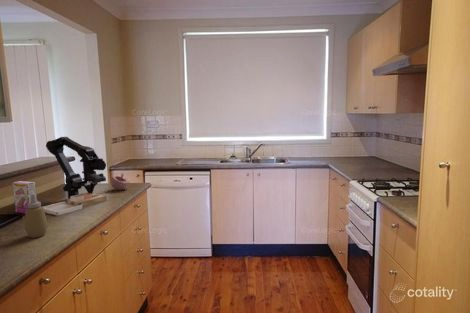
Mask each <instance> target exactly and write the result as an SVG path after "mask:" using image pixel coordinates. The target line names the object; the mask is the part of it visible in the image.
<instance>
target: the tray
mask: <svg viewBox="0 0 470 313" xmlns="http://www.w3.org/2000/svg"><path fill="white" fill-rule="evenodd" d="M42 207H43V208H44V212H45V214H48V215H52V216H53V215H54V216H57V217H58V216H62V215H65V214H69V213H72V212H75V211H79V210H82V209H83V208H82V205H79V206H73V205H69V204H67V200H64V201H61V202H60V201H59V202H57V203H53V204H49V205H48V204H47V205H44V206H42Z"/></svg>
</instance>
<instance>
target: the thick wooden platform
mask: <svg viewBox="0 0 470 313" xmlns="http://www.w3.org/2000/svg"><path fill="white" fill-rule="evenodd" d="M66 199H67V200H66V204H69V205H73V206H79V205H82V209H84V208H87V207H90V206H96V205H98V204H101V203H105V202H107V195H103V194H96V193H92V198H89V199H86V200H82V201H78V202H74V201H71V200H70V199H68V198H66Z"/></svg>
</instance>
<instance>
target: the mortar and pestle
mask: <svg viewBox="0 0 470 313" xmlns="http://www.w3.org/2000/svg"><path fill="white" fill-rule="evenodd" d="M110 185H111V188H113V189H114V190H116V191H123V190H125V189H127V187H128V186H129V185H130V179H128V178H127V177H125V176H124V174H123V173H121V175H120V174H114V175H113V174H112V176H111V178H110Z"/></svg>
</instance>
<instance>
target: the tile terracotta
mask: <svg viewBox="0 0 470 313" xmlns="http://www.w3.org/2000/svg"><path fill="white" fill-rule="evenodd" d="M92 194H93V193H92ZM92 194H91V193H88V192H83V193H79V195H84V200H86V199H89V198H92Z"/></svg>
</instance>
